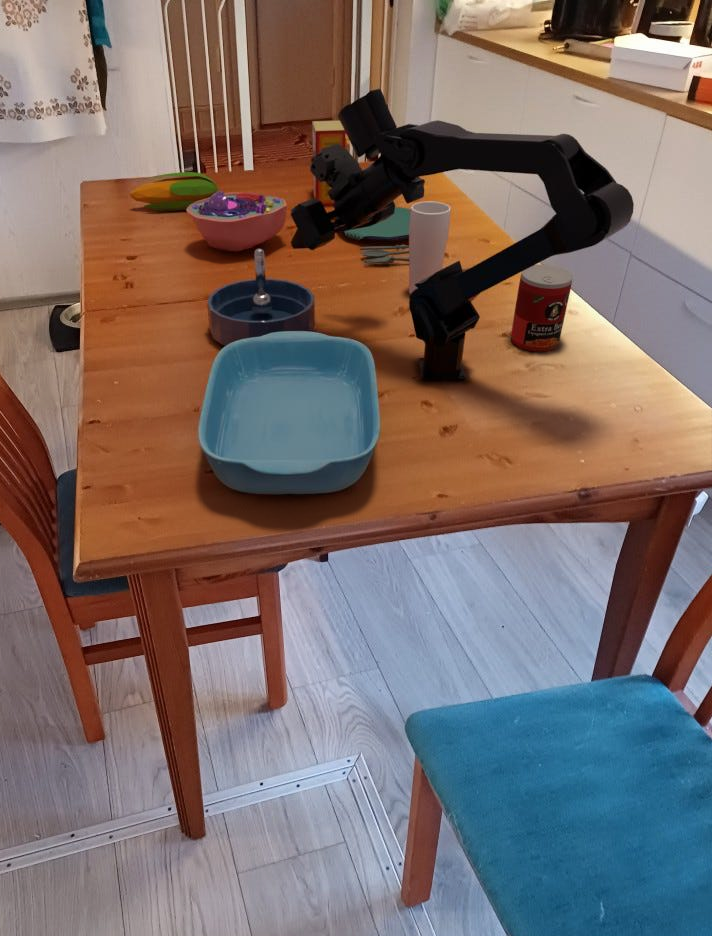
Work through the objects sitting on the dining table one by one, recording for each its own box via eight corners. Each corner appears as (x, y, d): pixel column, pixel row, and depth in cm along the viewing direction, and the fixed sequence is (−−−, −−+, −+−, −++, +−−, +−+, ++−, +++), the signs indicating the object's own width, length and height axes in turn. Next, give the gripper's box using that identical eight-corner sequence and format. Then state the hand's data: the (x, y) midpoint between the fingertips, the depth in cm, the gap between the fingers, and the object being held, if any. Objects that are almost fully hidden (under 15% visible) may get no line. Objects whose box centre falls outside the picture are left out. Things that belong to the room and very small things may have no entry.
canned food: (524, 355, 121) (536, 286, 114) (501, 333, 127) (511, 267, 120) (568, 349, 123) (583, 281, 115) (543, 327, 128) (556, 261, 121)
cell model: (301, 253, 155) (300, 194, 148) (204, 269, 150) (198, 208, 143) (272, 227, 167) (270, 171, 160) (182, 240, 162) (175, 183, 155)
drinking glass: (440, 302, 137) (450, 214, 127) (402, 300, 138) (408, 212, 128) (443, 287, 142) (452, 202, 132) (406, 285, 143) (412, 200, 133)
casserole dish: (222, 370, 118) (218, 326, 114) (368, 370, 118) (370, 325, 113) (192, 522, 90) (185, 471, 86) (384, 521, 90) (387, 471, 85)
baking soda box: (312, 193, 185) (312, 119, 175) (340, 192, 186) (340, 118, 175) (316, 206, 178) (315, 129, 168) (344, 205, 178) (345, 128, 168)
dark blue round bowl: (313, 355, 122) (313, 322, 118) (204, 355, 122) (201, 322, 119) (315, 309, 135) (314, 278, 132) (216, 309, 135) (213, 278, 132)
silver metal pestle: (273, 318, 130) (271, 252, 123) (251, 319, 130) (247, 253, 123) (273, 309, 133) (270, 244, 126) (251, 309, 133) (247, 244, 126)
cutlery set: (421, 214, 173) (422, 203, 171) (447, 265, 150) (449, 253, 148) (332, 217, 172) (332, 206, 171) (345, 268, 149) (345, 256, 148)
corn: (217, 174, 171) (125, 179, 169) (220, 210, 176) (131, 215, 174) (215, 167, 177) (127, 172, 175) (218, 203, 182) (132, 207, 180)
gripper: (391, 119, 113) (327, 175, 125) (305, 145, 102) (245, 203, 115) (425, 191, 115) (359, 239, 127) (344, 224, 104) (281, 273, 117)
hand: (312, 237), depth 122 cm, fingers open, 9 cm apart
